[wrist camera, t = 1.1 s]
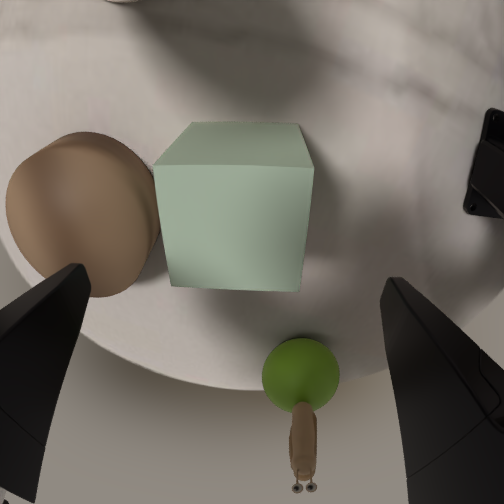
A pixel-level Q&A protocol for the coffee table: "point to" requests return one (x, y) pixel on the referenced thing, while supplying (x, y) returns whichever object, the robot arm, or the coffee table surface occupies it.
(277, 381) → the snail figurine
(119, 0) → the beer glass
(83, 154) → the walnut base
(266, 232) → the sage block
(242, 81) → the coffee table surface
